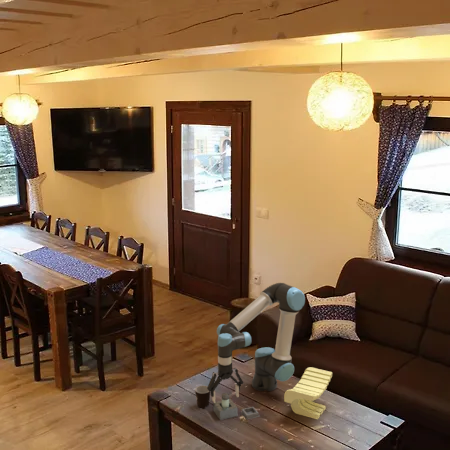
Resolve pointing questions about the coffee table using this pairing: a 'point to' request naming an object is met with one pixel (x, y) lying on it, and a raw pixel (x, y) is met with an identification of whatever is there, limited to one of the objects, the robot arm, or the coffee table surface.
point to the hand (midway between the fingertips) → (225, 398)
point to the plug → (225, 400)
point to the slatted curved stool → (309, 392)
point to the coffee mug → (202, 396)
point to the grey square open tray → (250, 413)
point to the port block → (225, 410)
